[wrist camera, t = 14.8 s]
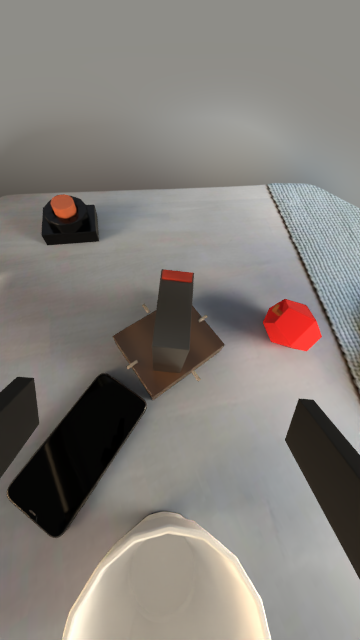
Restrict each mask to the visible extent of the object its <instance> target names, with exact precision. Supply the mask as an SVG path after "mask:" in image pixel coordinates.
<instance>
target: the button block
mask: <svg viewBox="0 0 360 640" xmlns="http://www.w3.org/2000/svg"><path fill="white" fill-rule="evenodd" d="M70 197H71V198H72V199H73V201H74V204H75V206H76V209H77V213H76V215H75V216H73V217H71V218H67V219H61V218H58V217H57V216H56V215H55V213H54V210H53V208H52V206H51V200H50V201H49V202H48V203H47V204H46V206H45V207H43V220H42V237H43V238H44V240H45V242H46V244H47V245H57V244H70V243H83V242H96V241H99V236H98V221H97V213H96V209H95V206H94V205H85V204H84V203H83V201H82V200H81V199H79V198H76V197H72V196H70Z"/></svg>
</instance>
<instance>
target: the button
mask: <svg viewBox="0 0 360 640" xmlns="http://www.w3.org/2000/svg"><path fill="white" fill-rule="evenodd" d="M51 206H52V208H53V210H54V213H55V215H56V216H57V217H58V218H61V219H67V218H71V217H73V216H75V215H76V213H77V209H76V206H75V204H74V201H73V199H72V198H71V197H70V196H68V195H57V196H55V197H54V198H52V200H51Z"/></svg>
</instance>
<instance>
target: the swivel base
mask: <svg viewBox="0 0 360 640" xmlns="http://www.w3.org/2000/svg"><path fill="white" fill-rule="evenodd" d="M142 306H143V308H144V309H145V310H146V312H147V313H149V312H150V311H149V310H148V308H147V307H146V305H145V304H143V305H142ZM155 317H156V311H154V312H152V313H151V314H149V315H147V316H146V317H144V318H142V319H141V320H139V321H137V322H136V323H134V324H132V325H130V326H129V327H127V328H125V329H124V330H122V331H120V332H119V333H117V334H115V335H114V336H113V338H114V340H115V343H116V345H117V346H118V348H119V349H120V351H121V352H122V354H123V355H124V357H125V358H126V360H127V361H128V363H129V364H130V365H128V366H127V369H129V368H131V367H132V369H133V370H134V372H135V374H136V375H137V377H138V378H139V380H140V381H141V383H142V384H143V386H144V387H145V389H146V390H147V392H148V393H149V395H150V396H151V398H152V400H154V399H156V398H157V397H159V396H160V395H161V394H163V393H164V392H165V391H167V390H168V389H169V388H171V387H172V386H174V385H175V384H176V383H178V382H179V381H180V380H182V379H183V378H184V377H186V376H187V375H189V374H190V373H191V372H192V374H193V375H194V376H195V378H196V379H197V381H199V380H201V379H200V378H199V377H198V375H197V374H196V372H195V371H194V370H195V369H197V368H198V367H199V366H201V365H202V364H204V363H205V362H206V361H208V360H209V359H210V358H212V357H213V356H214V355H216V354H217V353H219V352H220V350H221V349H222V348H223V347H224V343H223V342H222V341H221V340H220V338H219V337H218V336H217V335H216V334H215V332H214V331H213V330H212V329H211V328H210V326H209V325H208V324H207V323H206V321H205V320H204V319H205V318H207V317H208V316H207V315H205V316H203V317H201V315H200V314H199V313H198V312H197V311H196V309H195V308H194V307H193V306H192V316H191V333H190V350H189V352H188V355H187V357H186V359H185V362H184V364H183V367H182V369H181V372H180V373H173V372H162V371H153V359H152V341H153V333H154V325H155Z"/></svg>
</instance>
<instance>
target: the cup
mask: <svg viewBox="0 0 360 640" xmlns="http://www.w3.org/2000/svg"><path fill="white" fill-rule="evenodd" d="M62 640H271V636H270V632H269V628H268V624H267V620H266V616H265V611H264V607H263V603H262V599H261V597H260V596H259V594H258V592H257V591H256V589H255V587H254V586H253V584H252V582H251V581H250V579H249V577H248V575H247V574H246V572H245V570H244V569H243V567H242V565H241V564H240V562H239V560H238V559H237V557H236V556H235V555H234V554H232V553H231V552H230V551H229V550H228V549H227V548H226V547H225V546H223V545H222V544H221V543H220V542H219V541H218V540H217V539H215V538H214V537H213V536H212V535H211V534H209V533H208V532H207V531H206V530H205V529H203V528H202V527H201V526H200V525H198V524H197V523H196V522H195V521H193V520H188V519H185V518H184V517H182V516H181V515H180V514H176V513H172V512H165V511H163V512H158V513H154V514H151V515H148V516H147V517H146V518H144V519H143V520H142V521H141V522H140V523H139V524H137V525H136V526H135V527H134V528H133V529H132V530H130V531H129V532H128V533H127V534H126V535H125V536H123V537H122V538H121V539H120V540H119V541H118V542H116V543H115V544H114V545H113V547H112V548H111V549H110V550H109V552H108V553H107V554H106V555H105V557H104V558H103V559H102V560H101V561H100V563H99V564H98V566H97V567H96V569H95V570H94V572H93V574H92V575H91V577H90V579H89V580H88V582H87V584H86V585H85V587H84V589H83V590H82V592H81V593H80V595H79V597H78V598H77V600H76V602H75V603H74V605H73V607H72V608H71V610H70V612H69V615H68V618H67V622H66V626H65V629H64V633H63V637H62Z"/></svg>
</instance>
